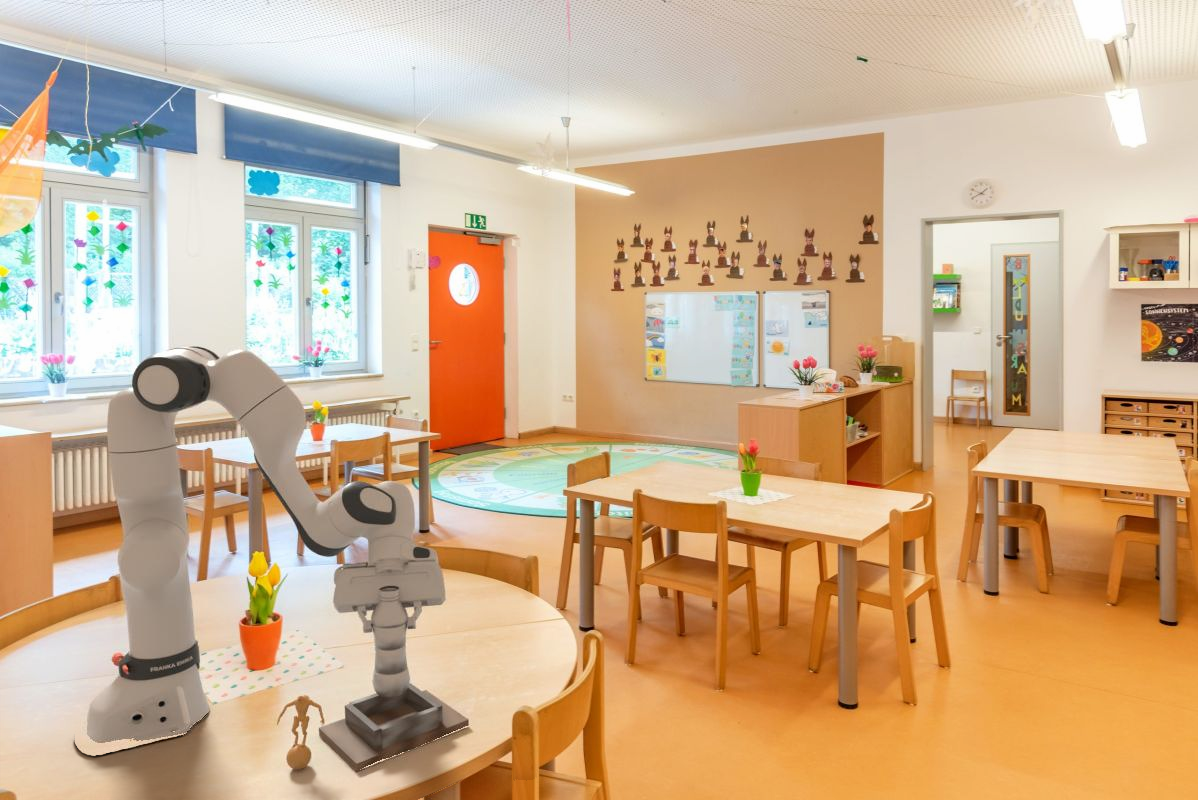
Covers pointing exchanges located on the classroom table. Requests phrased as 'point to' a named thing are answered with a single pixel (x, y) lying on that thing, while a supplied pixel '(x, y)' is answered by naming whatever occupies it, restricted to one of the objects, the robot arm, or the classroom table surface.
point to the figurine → (300, 752)
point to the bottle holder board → (389, 726)
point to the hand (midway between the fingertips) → (389, 629)
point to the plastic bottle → (390, 644)
